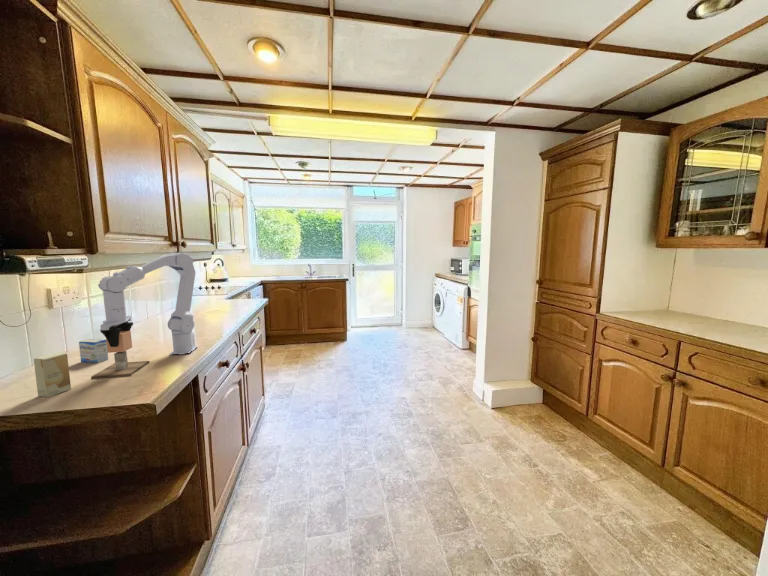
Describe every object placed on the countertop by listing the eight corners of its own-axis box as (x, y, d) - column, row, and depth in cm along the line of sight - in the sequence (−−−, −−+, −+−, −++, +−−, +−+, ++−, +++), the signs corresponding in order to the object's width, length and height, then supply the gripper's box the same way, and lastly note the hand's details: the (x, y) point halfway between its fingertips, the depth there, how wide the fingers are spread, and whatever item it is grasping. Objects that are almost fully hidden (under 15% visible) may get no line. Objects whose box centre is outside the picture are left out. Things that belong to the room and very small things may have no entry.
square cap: (116, 348, 116) (114, 331, 115) (132, 347, 117) (130, 330, 116) (107, 352, 111) (105, 335, 110) (124, 351, 112) (122, 334, 111)
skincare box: (47, 397, 94) (42, 359, 92) (37, 396, 95) (31, 358, 93) (72, 388, 100) (67, 352, 98) (62, 387, 101) (57, 351, 99)
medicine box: (80, 362, 123) (77, 341, 122) (92, 358, 127) (89, 338, 126) (97, 363, 122) (95, 342, 121) (109, 359, 127) (106, 339, 125)
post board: (114, 365, 120) (112, 348, 119) (149, 362, 123) (147, 345, 122) (91, 378, 107) (88, 359, 107) (130, 375, 110) (128, 357, 109)
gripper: (115, 305, 118) (118, 339, 120) (88, 313, 104) (93, 351, 106) (136, 304, 120) (139, 338, 121) (112, 312, 106) (116, 349, 107)
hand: (119, 344), depth 114 cm, fingers closed on square cap, 5 cm apart
